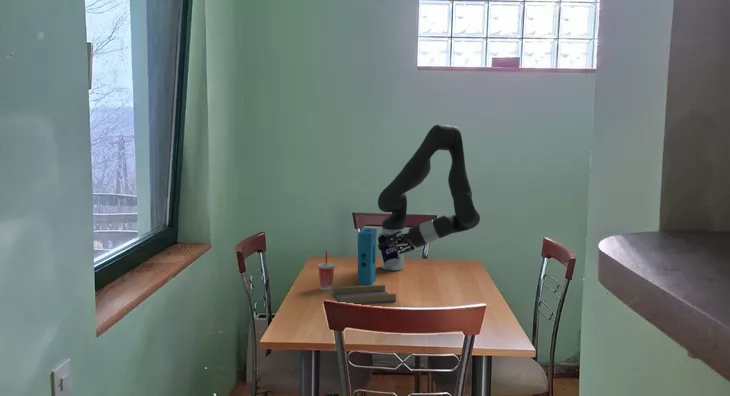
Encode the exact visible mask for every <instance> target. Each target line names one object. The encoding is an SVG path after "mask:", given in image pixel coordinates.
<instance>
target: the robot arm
mask: <svg viewBox="0 0 730 396" xmlns="http://www.w3.org/2000/svg"><path fill="white" fill-rule="evenodd" d="M463 143H464V142H463V137H462V133H461V131H460V128H459V127H458V126H455V125H448V124H436V125H433V126H432V127H431V129H430V130H429V131H428V132H427V134H426V136H425V137H424V139H423V141H422V142H421V144H420V145H419V147H418V149H417V150H416V151H415V153H414V154H413V155H412V156H411V158H410V159H408V162H407V163H406V164H405V165H404V166H403V168H402V169H401V170H400V172H399V173H398V174H397V175H396V177H395V178H394V179H393V180H392V181H391V182H390V183H389V184H388V185H387V186H386V187H385V188H384V189H383V190H382V191H381V192H380V193H379V196H378V198H377V206H378V208H379V210H380V211H382V212H384V213H391V215H389V217H387V218H386V219H384V220H383V221H382V224H381V230H382V231H381V233H382V232H387V231H388V232H391V234H392V235H390V236H388V237H387V241H386V242H383V243H381V244H379V243H378V245H377V246H378V250H379V251H381V250H383V249H385V248H388V247H390V246H396V248H397V252H398V256H399V260H400V261H399V262H398V264H397V265H396V266H393V267H388V266H386V265H385V264H384V261H383V257H382V256H381V269H382V270H385V271H402V270H404V260H405V258H404V257H405V253H409V252H412V251H415V250H416V249H417V248H422V247H425V246H426V245H428V244H431V243H433V242H436V241H437V240H439V239H442V238H444V237H447V236H449V235H452V234H455V233H456V234H457V233H461V232H465V231H469V230H471V229H474V228H475V227H477V226H478V225H479V223H480V222H481V218H480V217H481V216H480V213H479V212H478V210H476V208H475V205H474V202H473V198H472V197H473V194H472V193H473V192H472V189H471V185H470V182H469V179H468V174H467V169H466V161H465V154H464V153H465V152H464V144H463ZM438 151H448V152H449V154H450V157H451V167H450V170H449V172H448V180H447V181H448V187H449V190H450V194H451V198H452V200H453V202H452V203H453V208H454V209H453V210H454V214H453V215H446V214H445V215H441V216H439V217H436V218H434V219H431V220H428V221H424V222H422V223H420V224H419V223H418V224H417V225H415V226H412V227H410V228H409V229H408V232H406V233H405V225H406V221H407V212H408V211H407V207H408V199H407V194H406V193H407V192H409V191H412V190H413V189H415V188H416V187H418V186H419V185H421V184H422V183H423V181H424V180H425V179H426V178H427V177H428V175H429V174H430V171H431V167H432V166H431V158H432V157H433V155H434V154H435V153H437V152H438ZM391 238H392V239H391Z"/></svg>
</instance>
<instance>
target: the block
mask: <svg viewBox="0 0 730 396" xmlns="http://www.w3.org/2000/svg"><path fill="white" fill-rule="evenodd" d="M377 233H378V232H377V228H372V227H371V228H370V227H369V228H368V227H364V228H363V229H361V230H360V231H359V232H358V233H357V238H358V239H357V278H358V279H357V281H358V286H368V285H374V283H375V281H376V272H377V271H376V269H377V268H376V267H377Z"/></svg>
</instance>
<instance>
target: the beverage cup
mask: <svg viewBox="0 0 730 396" xmlns="http://www.w3.org/2000/svg"><path fill="white" fill-rule="evenodd" d="M317 267H318V276H319V277H318V279H319V290H321V291H331V290H333V288H334V287H333V286H334V285H333V284H334V273H335V272H334V270H335V269H334V268H335V263H331V262H328V251H327V250H326V251H325V262H321V263H318V264H317Z"/></svg>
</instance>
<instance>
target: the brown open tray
mask: <svg viewBox="0 0 730 396" xmlns="http://www.w3.org/2000/svg"><path fill="white" fill-rule="evenodd" d="M332 295H333V297H334V298H335V299H336V300H337V302H338V303H339V302H346V303H354V304H355V305H366V304H367V305H370V304H380V303H394V302H395V303H396V302H397V294H396V293H393V292H392V293H388V291H386V284H372V285H368V286H367V285H355V286H353V285H352V286H339V287H333V288H332Z"/></svg>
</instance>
